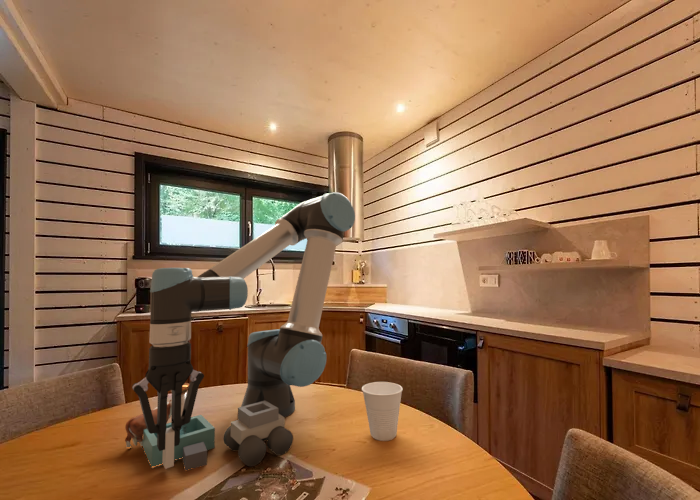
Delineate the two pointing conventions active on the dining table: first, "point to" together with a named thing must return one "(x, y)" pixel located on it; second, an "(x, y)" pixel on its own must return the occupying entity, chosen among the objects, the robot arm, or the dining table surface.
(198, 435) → the tray
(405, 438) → the dining table surface
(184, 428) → the glass jar
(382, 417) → the cup
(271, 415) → the trolley
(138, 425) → the bull figurine
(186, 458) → the block
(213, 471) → the dining table surface
